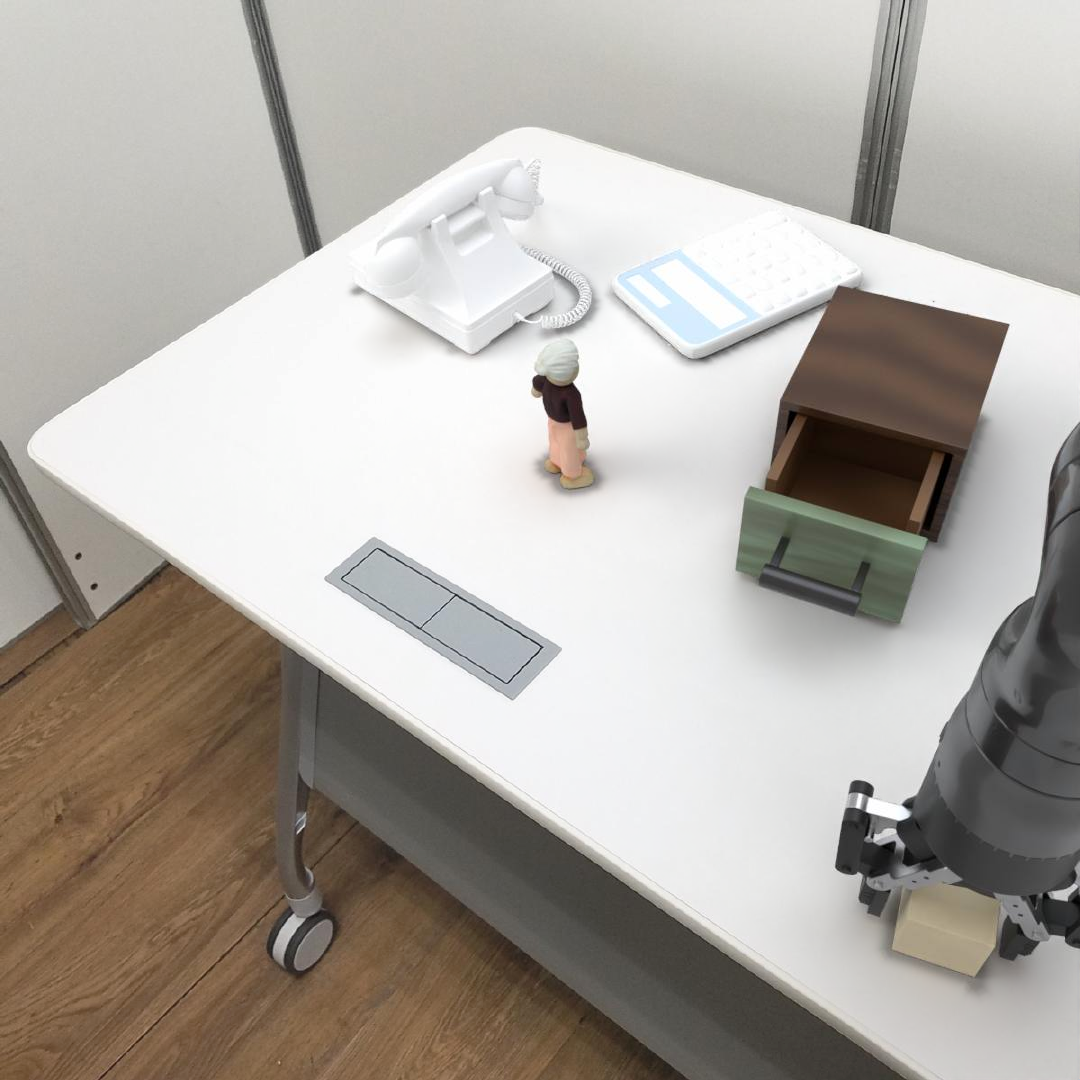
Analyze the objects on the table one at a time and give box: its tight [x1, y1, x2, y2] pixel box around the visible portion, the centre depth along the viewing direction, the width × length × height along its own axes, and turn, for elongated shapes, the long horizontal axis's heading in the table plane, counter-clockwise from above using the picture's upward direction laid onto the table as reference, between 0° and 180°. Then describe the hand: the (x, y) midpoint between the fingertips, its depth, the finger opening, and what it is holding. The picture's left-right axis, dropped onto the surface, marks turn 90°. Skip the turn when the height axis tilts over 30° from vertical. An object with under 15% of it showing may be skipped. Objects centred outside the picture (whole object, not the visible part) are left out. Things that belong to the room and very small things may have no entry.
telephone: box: [348, 157, 593, 355], centre depth 100 cm, size 25×21×12 cm
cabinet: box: [769, 285, 1010, 543], centre depth 84 cm, size 15×13×10 cm
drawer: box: [735, 413, 947, 624], centre depth 77 cm, size 18×12×8 cm
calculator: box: [611, 210, 864, 360], centre depth 102 cm, size 13×20×2 cm, turn 121°
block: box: [891, 882, 1002, 978], centre depth 61 cm, size 4×4×4 cm
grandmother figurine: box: [530, 337, 595, 490], centre depth 84 cm, size 8×4×13 cm, turn 42°
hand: (940, 921), depth 62 cm, fingers open, 6 cm apart
